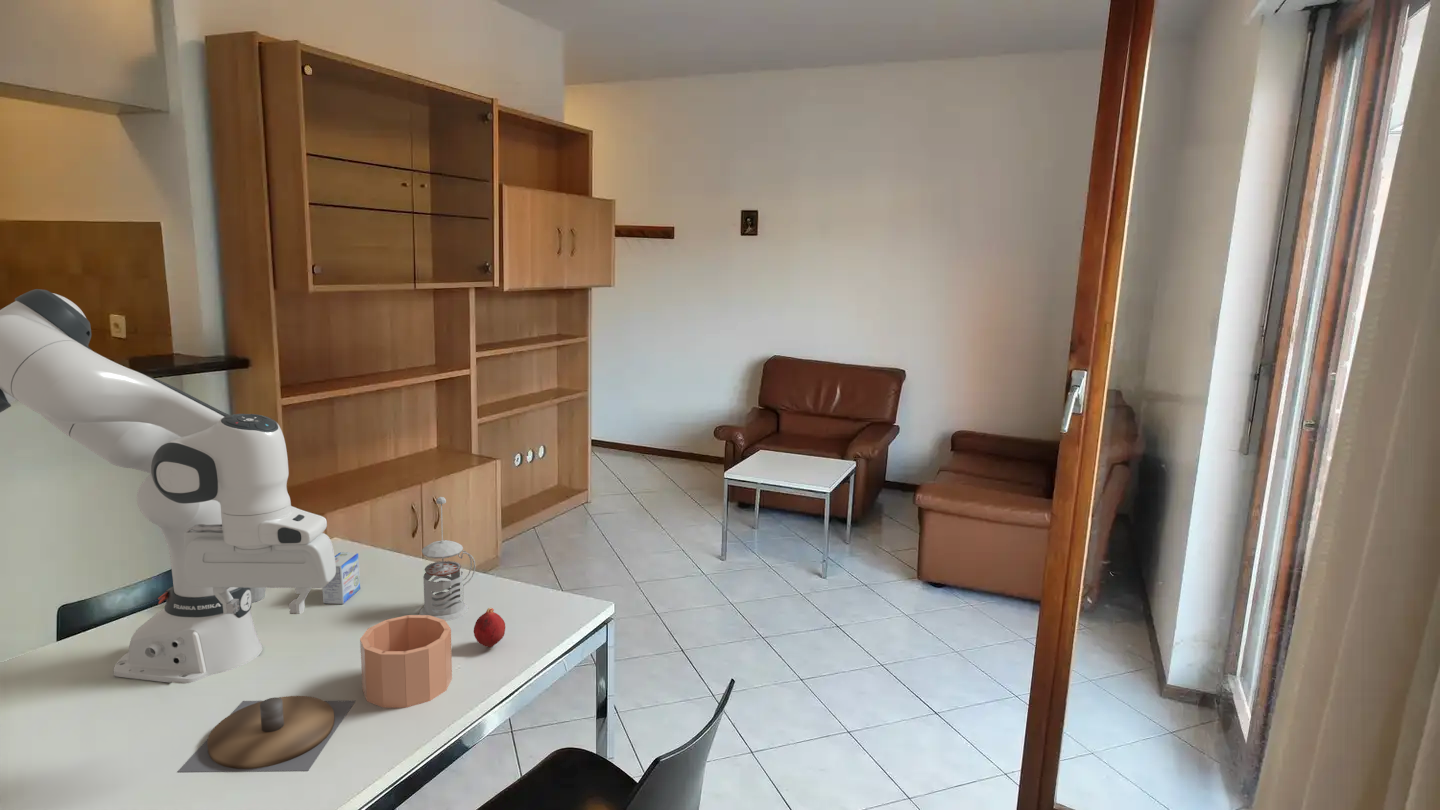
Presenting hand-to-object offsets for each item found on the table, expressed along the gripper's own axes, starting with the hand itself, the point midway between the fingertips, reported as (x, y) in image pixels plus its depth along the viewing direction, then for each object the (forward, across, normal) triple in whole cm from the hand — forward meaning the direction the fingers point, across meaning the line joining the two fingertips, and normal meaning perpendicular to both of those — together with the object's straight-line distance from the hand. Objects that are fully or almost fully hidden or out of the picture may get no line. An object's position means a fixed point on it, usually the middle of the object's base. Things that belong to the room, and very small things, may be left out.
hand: (264, 612), depth 117 cm
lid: (+20, 0, 0) cm, 20 cm away
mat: (+21, 0, 0) cm, 21 cm away
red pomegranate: (+21, +27, +28) cm, 44 cm away
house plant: (+21, -26, +49) cm, 59 cm away
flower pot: (+21, +16, +14) cm, 30 cm away
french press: (+21, +15, +44) cm, 51 cm away
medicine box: (+21, -9, +50) cm, 55 cm away
